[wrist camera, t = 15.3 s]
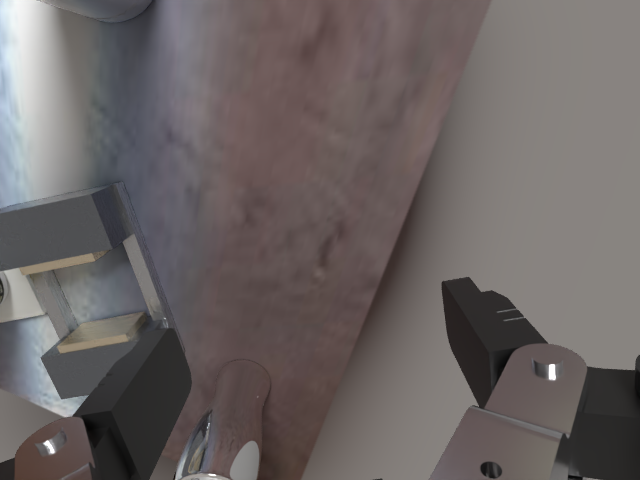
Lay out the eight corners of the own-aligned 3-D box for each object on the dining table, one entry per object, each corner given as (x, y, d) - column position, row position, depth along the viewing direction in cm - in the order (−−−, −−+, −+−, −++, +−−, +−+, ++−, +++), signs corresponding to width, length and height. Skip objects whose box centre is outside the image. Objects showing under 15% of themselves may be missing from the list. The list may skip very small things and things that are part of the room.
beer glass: (240, 416, 49) (205, 549, 34) (200, 376, 47) (145, 499, 33) (287, 386, 47) (270, 512, 33) (246, 344, 45) (210, 457, 31)
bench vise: (8, 205, 41) (-34, 220, 36) (122, 181, 40) (95, 193, 35) (84, 369, 47) (57, 400, 42) (185, 351, 46) (169, 380, 41)
